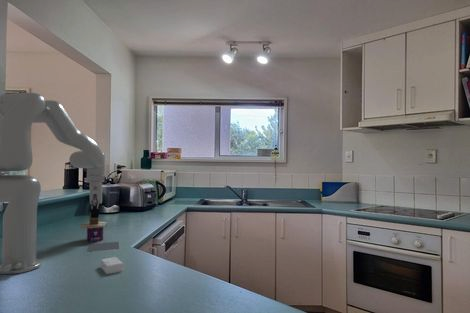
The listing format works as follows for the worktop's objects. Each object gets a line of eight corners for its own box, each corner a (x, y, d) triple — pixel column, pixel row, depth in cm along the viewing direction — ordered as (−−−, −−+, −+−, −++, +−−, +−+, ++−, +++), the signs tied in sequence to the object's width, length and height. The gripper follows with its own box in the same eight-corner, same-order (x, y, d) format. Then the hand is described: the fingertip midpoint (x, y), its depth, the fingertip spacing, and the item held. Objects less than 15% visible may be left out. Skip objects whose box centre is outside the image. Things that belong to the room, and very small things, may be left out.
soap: (123, 272, 104) (123, 263, 104) (106, 275, 101) (106, 266, 101) (116, 264, 111) (116, 256, 111) (100, 267, 108) (100, 258, 108)
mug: (87, 243, 138) (87, 228, 138) (86, 238, 147) (86, 224, 147) (103, 242, 141) (103, 226, 141) (101, 237, 150) (102, 223, 150)
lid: (106, 227, 141) (106, 214, 141) (79, 228, 137) (79, 215, 137) (107, 222, 151) (107, 210, 151) (81, 224, 147) (82, 211, 147)
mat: (119, 249, 129) (119, 248, 129) (87, 252, 125) (87, 251, 125) (118, 242, 140) (118, 241, 140) (89, 244, 136) (89, 244, 136)
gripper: (104, 179, 138) (103, 218, 138) (104, 177, 154) (104, 212, 154) (85, 180, 135) (84, 219, 135) (88, 177, 151) (87, 213, 151)
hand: (95, 216), depth 144 cm, fingers open, 9 cm apart
